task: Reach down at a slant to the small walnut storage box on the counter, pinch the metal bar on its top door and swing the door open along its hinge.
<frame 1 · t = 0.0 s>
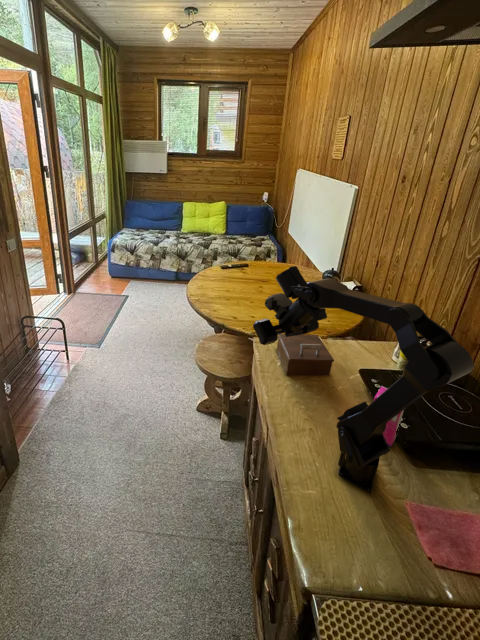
hand: (273, 338, 90), 15 cm above the kitchen counter, tool tilted 35°, fingers open, 9 cm apart
chest: (301, 362, 103), on the kitchen counter
supplement box: (380, 433, 78), on the kitchen counter
lid: (305, 342, 100), point 8 cm above the kitchen counter, hinge at 0.0°
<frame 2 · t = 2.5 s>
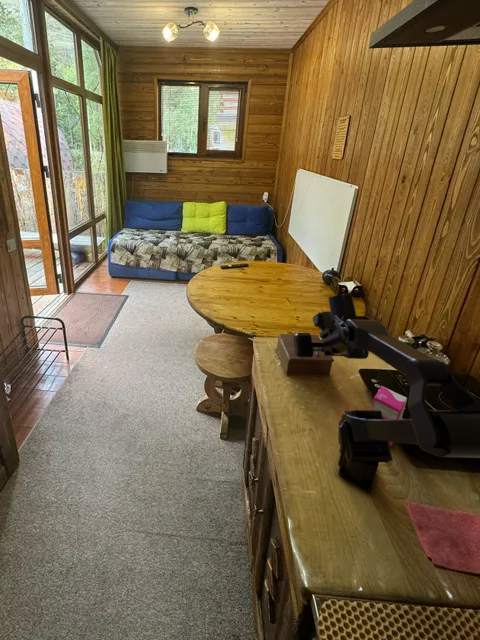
hand: (318, 350, 90), 12 cm above the kitchen counter, tool tilted 45°, fingers open, 9 cm apart
nothing on the kitchen counter moved.
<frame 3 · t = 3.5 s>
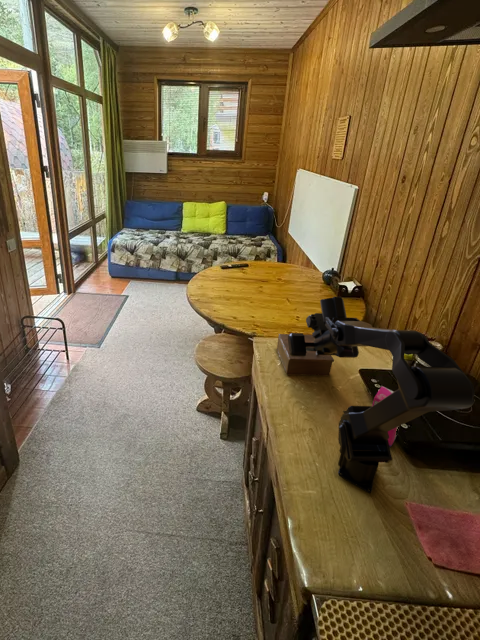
hand: (311, 349, 94), 9 cm above the kitchen counter, tool tilted 45°, fingers open, 9 cm apart
nothing on the kitchen counter moved.
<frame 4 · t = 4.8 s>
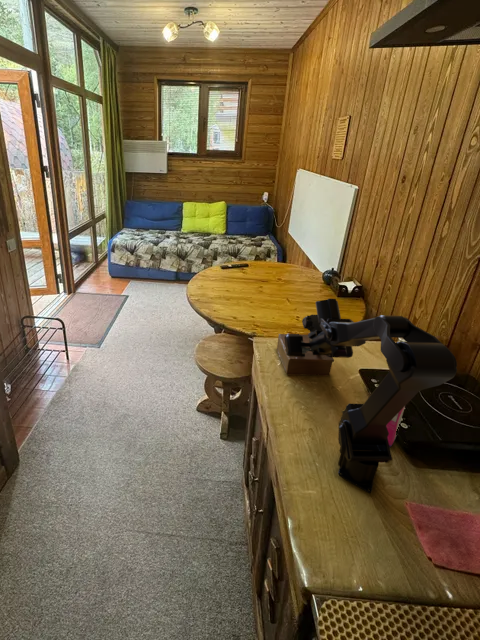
hand: (308, 350, 97), 7 cm above the kitchen counter, tool tilted 45°, fingers closed on lid, 6 cm apart
lid: (305, 342, 100), point 8 cm above the kitchen counter, hinge at 0.0°, touching gripper
everything else where it was.
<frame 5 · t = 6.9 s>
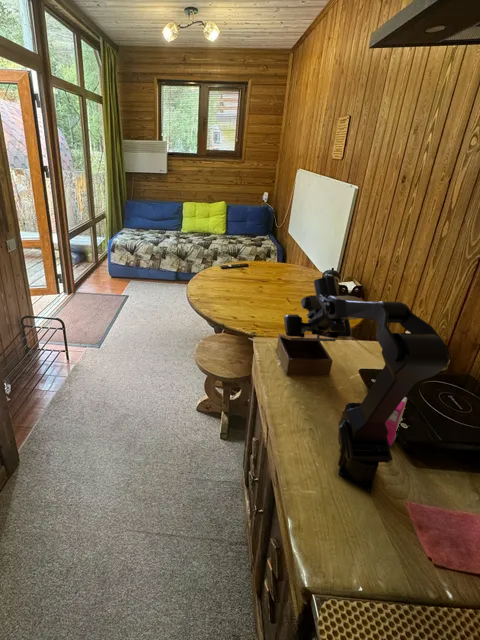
hand: (307, 332, 98), 12 cm above the kitchen counter, tool tilted 45°, fingers closed on lid, 6 cm apart
lid: (304, 331, 100), point 11 cm above the kitchen counter, hinge at 28.6°, touching gripper
everything else where it was.
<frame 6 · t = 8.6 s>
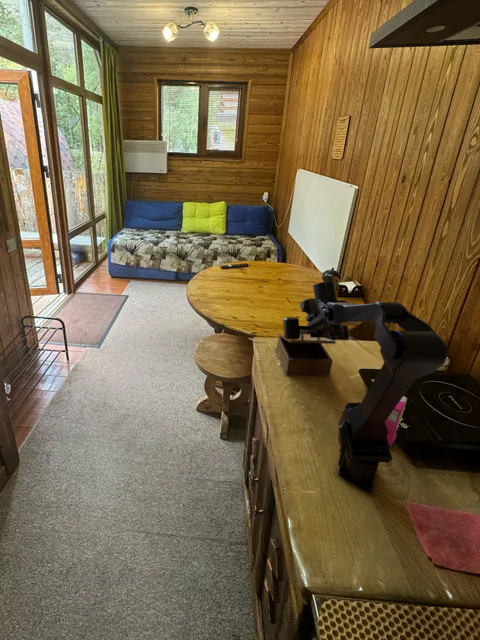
hand: (306, 334, 99), 11 cm above the kitchen counter, tool tilted 45°, fingers open, 9 cm apart
lid: (305, 332, 100), point 11 cm above the kitchen counter, hinge at 25.6°
everything else where it was.
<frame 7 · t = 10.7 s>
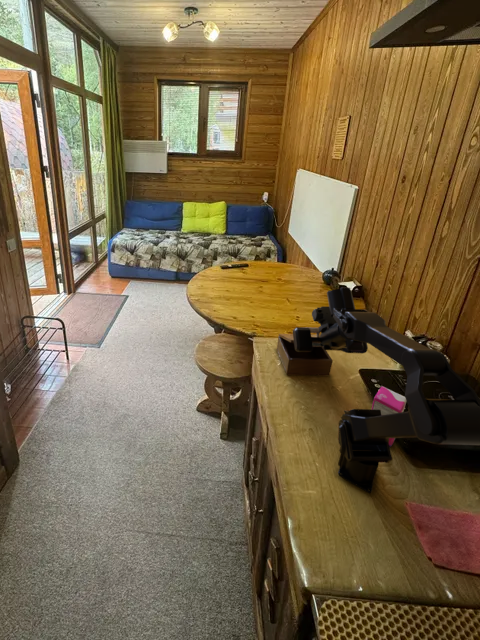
hand: (317, 345, 90), 13 cm above the kitchen counter, tool tilted 45°, fingers open, 9 cm apart
nothing on the kitchen counter moved.
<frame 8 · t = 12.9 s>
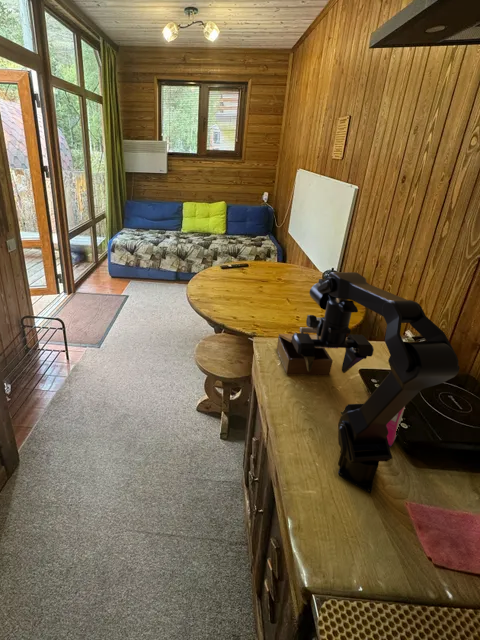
hand: (325, 371, 81), 12 cm above the kitchen counter, tool pointing down, fingers open, 9 cm apart
nothing on the kitchen counter moved.
at the end: lid at +26° (first picture: +0°) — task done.
